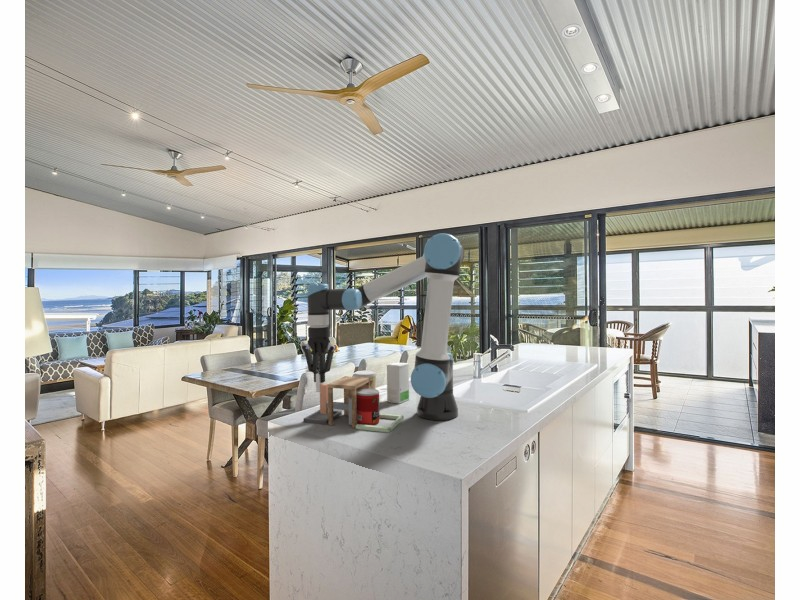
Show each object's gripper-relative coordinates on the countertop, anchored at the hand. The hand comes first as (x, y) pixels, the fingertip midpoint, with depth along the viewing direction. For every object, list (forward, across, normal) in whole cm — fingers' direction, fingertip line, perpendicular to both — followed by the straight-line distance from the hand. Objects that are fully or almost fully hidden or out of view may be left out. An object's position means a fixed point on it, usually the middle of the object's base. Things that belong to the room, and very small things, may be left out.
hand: (319, 391), depth 152 cm
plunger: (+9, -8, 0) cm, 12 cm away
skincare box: (+10, -20, -30) cm, 37 cm away
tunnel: (+10, -12, 0) cm, 15 cm away
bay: (+10, -23, 0) cm, 25 cm away
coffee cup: (+10, -7, -26) cm, 29 cm away
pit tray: (+10, -1, 0) cm, 10 cm away
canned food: (+10, -19, 0) cm, 21 cm away
